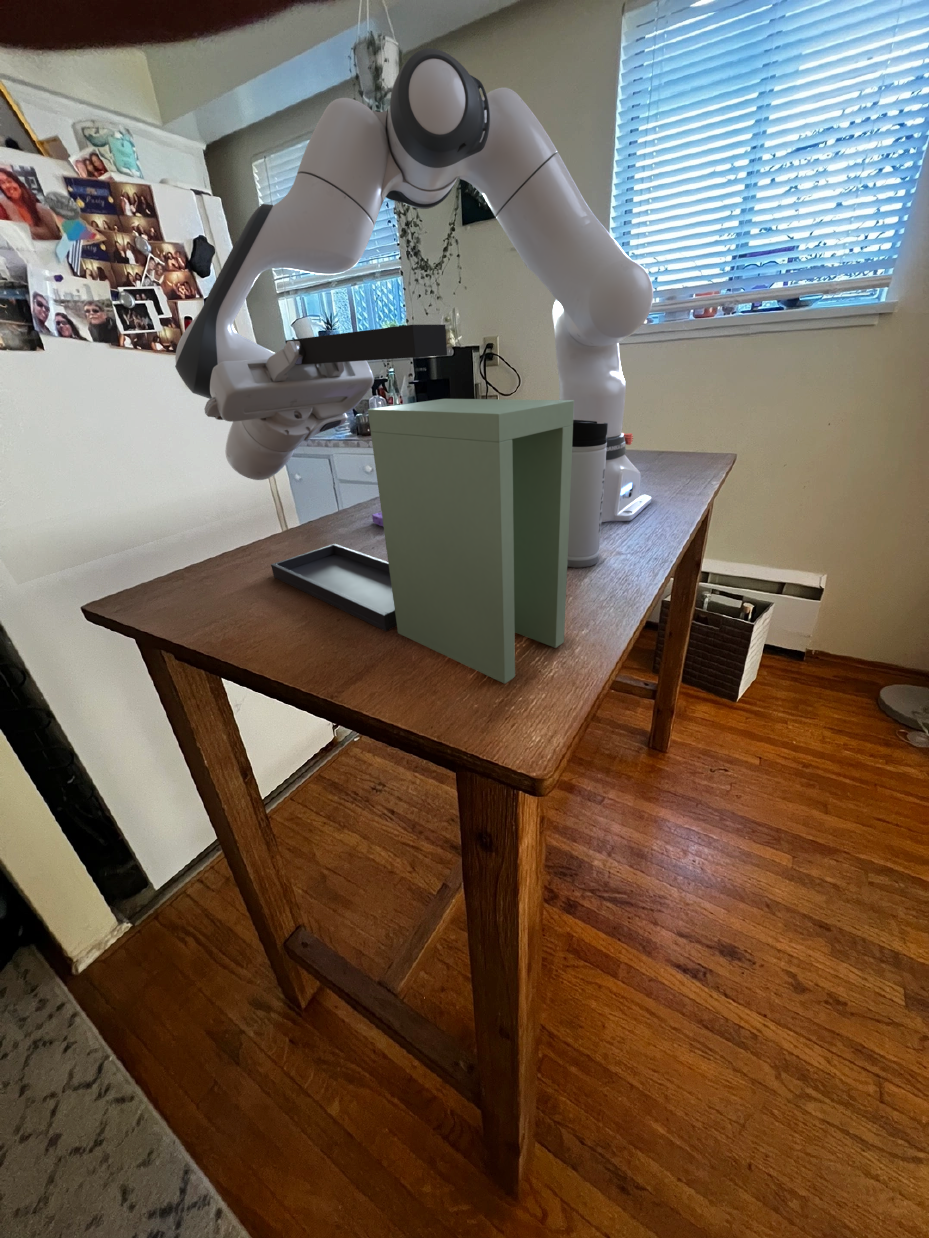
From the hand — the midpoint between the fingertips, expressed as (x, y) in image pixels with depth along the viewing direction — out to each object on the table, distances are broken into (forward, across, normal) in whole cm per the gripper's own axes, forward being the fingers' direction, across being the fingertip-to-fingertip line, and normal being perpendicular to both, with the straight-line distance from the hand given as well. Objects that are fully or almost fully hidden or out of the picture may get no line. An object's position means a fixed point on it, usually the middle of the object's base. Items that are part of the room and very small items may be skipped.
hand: (319, 346), depth 56 cm
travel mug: (+1, +26, +35) cm, 44 cm away
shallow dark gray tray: (-16, 0, +25) cm, 30 cm away
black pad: (+5, 0, +5) cm, 7 cm away
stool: (+4, 0, +37) cm, 37 cm away
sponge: (-32, +26, +16) cm, 44 cm away
